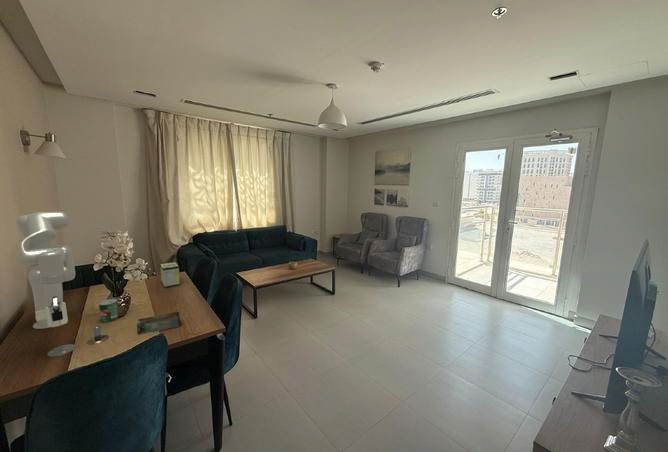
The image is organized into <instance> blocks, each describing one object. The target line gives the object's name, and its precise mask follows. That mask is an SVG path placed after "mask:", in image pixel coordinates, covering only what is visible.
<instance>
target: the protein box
mask: <svg viewBox="0 0 668 452" xmlns="http://www.w3.org/2000/svg"><path fill="white" fill-rule="evenodd" d="M159 266H160V268H159V269H160V279H161V280H160V281H161V285H162V286H163V289H169V288H173V287H179V285H180V266H179V265H178V263H176V261H173V262H166V263H160V265H159ZM180 286H181V285H180Z"/></svg>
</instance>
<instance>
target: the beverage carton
mask: <svg viewBox="0 0 668 452" xmlns="http://www.w3.org/2000/svg"><path fill="white" fill-rule="evenodd" d="M180 323H181V317H180V313H179V311H175V312H169V313H168V312H167V313H165V314H158V315H154V316H149V317H143V318H139V319H138V320H137V324H136V334H137V335H142V334H148V333H151V332H157V331H164V330H170V329H174V328H179V327H180V326H181V325H180Z"/></svg>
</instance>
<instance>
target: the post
mask: <svg viewBox="0 0 668 452" xmlns="http://www.w3.org/2000/svg"><path fill="white" fill-rule="evenodd" d="M92 329H93V337H92V338H90V339H89V340H87V341H86V345H89V346H90V345H91V346H92V345H98V344H102V343H104V342H106V341H108V340H109V338H110V336H109V335H108V334H103V335H102V330H101V325H95V326H93V328H92Z"/></svg>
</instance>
